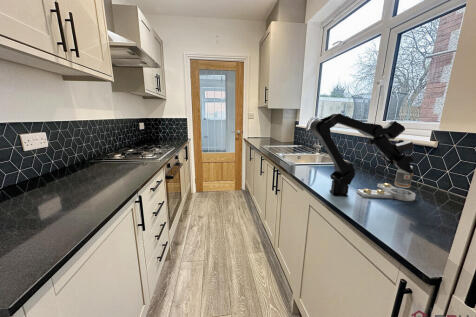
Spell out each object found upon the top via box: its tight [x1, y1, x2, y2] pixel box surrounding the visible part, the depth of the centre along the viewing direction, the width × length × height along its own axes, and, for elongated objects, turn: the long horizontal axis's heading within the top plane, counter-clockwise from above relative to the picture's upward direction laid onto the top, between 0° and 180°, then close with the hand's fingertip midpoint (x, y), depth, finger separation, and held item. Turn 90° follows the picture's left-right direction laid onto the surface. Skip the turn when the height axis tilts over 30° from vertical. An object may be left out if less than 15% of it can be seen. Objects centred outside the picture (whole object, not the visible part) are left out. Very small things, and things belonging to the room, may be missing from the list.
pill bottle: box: [394, 165, 414, 189], centre depth 89 cm, size 6×6×10 cm
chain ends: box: [356, 182, 416, 202], centre depth 96 cm, size 23×18×3 cm
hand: (408, 171), depth 88 cm, fingers closed on pill bottle, 5 cm apart
